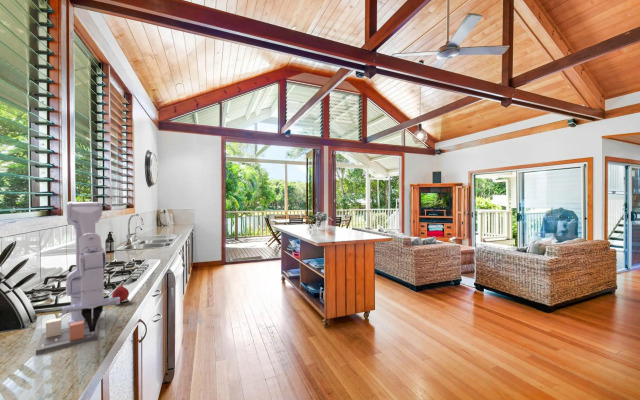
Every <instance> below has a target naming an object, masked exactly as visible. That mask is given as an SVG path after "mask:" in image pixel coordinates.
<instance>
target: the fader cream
mask: <svg viewBox="0 0 640 400" xmlns="http://www.w3.org/2000/svg"><path fill="white" fill-rule="evenodd" d="M61 329H62V317H58V318H52V319H48V320H46V322H45V333H46V338H47V337H52V336H56V335H61Z"/></svg>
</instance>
